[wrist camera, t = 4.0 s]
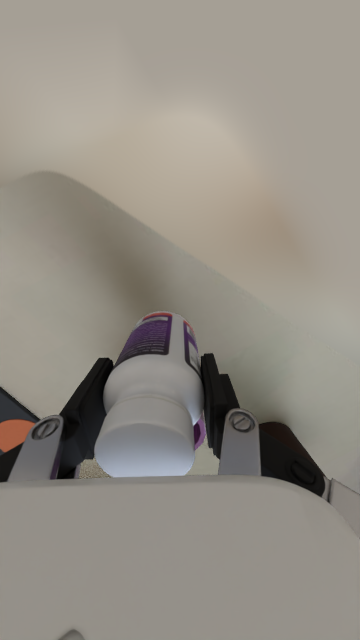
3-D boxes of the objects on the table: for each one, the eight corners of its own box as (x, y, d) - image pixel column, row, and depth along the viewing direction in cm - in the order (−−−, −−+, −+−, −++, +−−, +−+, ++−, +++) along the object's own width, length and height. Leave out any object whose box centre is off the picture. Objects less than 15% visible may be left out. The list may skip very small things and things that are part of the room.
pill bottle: (124, 351, 17) (61, 478, 8) (145, 298, 15) (94, 386, 6) (179, 372, 18) (178, 507, 9) (206, 324, 16) (240, 435, 7)
